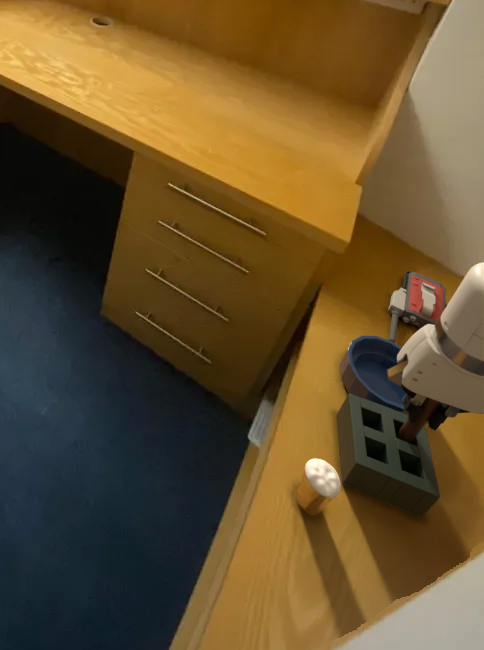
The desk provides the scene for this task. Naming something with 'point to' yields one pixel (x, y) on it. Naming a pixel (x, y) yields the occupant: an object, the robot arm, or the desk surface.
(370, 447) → the holder
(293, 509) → the desk surface
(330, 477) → the beer glass
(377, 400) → the bowl
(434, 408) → the stick
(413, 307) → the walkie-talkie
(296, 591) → the desk surface
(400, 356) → the robot arm
